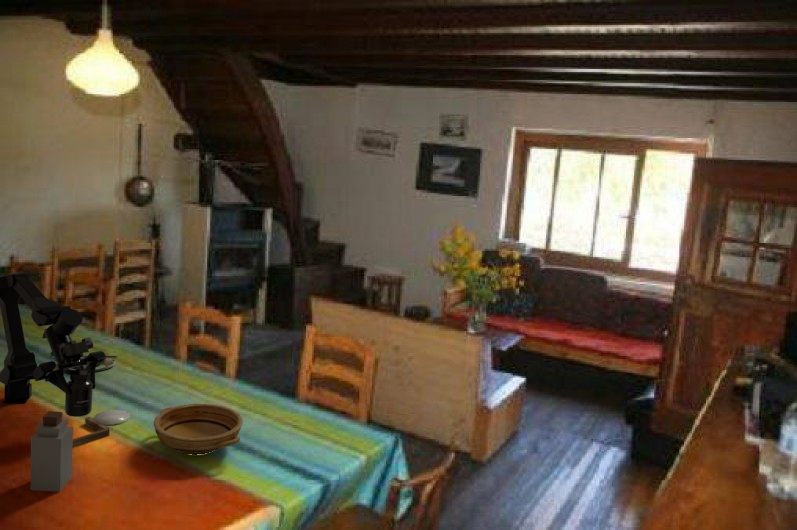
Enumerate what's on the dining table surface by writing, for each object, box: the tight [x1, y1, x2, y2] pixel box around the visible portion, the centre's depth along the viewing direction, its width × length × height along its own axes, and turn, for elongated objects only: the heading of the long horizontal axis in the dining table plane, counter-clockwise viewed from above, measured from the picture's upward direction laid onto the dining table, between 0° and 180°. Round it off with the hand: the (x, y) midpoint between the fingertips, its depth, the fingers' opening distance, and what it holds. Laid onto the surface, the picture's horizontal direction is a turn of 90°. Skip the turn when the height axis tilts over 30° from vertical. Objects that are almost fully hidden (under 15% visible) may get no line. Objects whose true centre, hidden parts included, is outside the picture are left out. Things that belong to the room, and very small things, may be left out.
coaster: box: [93, 409, 131, 426], centre depth 196 cm, size 10×10×1 cm
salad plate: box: [65, 354, 118, 373], centre depth 237 cm, size 19×18×5 cm
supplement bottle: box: [64, 369, 94, 418], centre depth 181 cm, size 7×7×12 cm
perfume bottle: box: [30, 410, 74, 493], centre depth 156 cm, size 7×7×18 cm
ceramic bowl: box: [153, 403, 244, 456], centre depth 183 cm, size 30×24×8 cm
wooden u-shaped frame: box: [73, 416, 111, 448], centre depth 183 cm, size 11×12×2 cm
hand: (82, 391), depth 181 cm, fingers closed on supplement bottle, 7 cm apart
